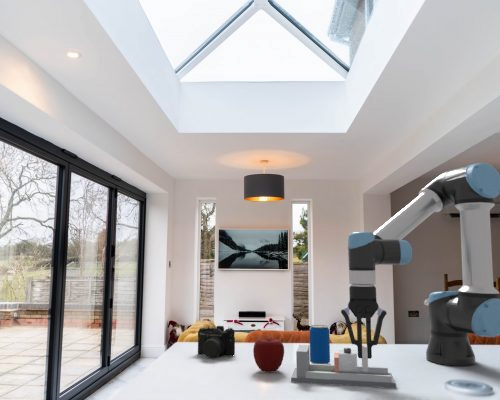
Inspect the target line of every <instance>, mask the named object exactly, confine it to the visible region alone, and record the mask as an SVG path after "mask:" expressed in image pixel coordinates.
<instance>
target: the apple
mask: <svg viewBox="0 0 500 400" xmlns="http://www.w3.org/2000/svg"><path fill="white" fill-rule="evenodd" d="M252 351H253V358H254V362H255V364H256V366H257V367H258V369H259V370H260V371H261V372H263V373H275V372H276V371H278V369H280V367H281V365H282V364H283V361H284V357H285V346H284V344H283V342H282V341H281V340H280V339H277V338H273V337H259V338H258V339H257V340H255V342H254V344H253V349H252Z"/></svg>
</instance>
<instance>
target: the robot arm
mask: <svg viewBox="0 0 500 400" xmlns="http://www.w3.org/2000/svg"><path fill="white" fill-rule="evenodd" d="M499 195H500V173H499V171H498V170H497V169H496V168H495V167H494V166H493V165H491V164H489V163H486V162H477V163H471V164H469V165H466V166H462V167H458V168H454V169H450V170H447V171H444V172H443V173H441V174H439V175H438V176H437V177H435V178H434V179H432V180H431V181H430V182H429V183H428V184H427V185H425V186H424V187H423V188H421V189H420V190H419V192H418V196H417V197H415V198H414V199H412V201H410V202H409V203H408V204H407V205H405V207H403V208H401V210H399V211H398V212H397V213H396V214H394V215H393V216H392V217H391V218H390V219H388V220H387V221H386V222H384V224H383V225H381V226H380V227H379V228H378V229H376V230H375V231H374V232H372V231H353V232H350V233H349V234H348V239H347V251H348V284H350V286H349V289H348V290H349V301H348V304H347V306H346V307H344V308H341V310H340V312H341V314H342V316H343V318H344V320H345V321H344V322H345V324H346V328H347V331H348V335H349V339H350V342H351V343H350V344H352V345H355V346H356V347H357V358H358V359H361V366H362V370H363V371H367V372H368V367H369V361H368V359H369V360H370V359H372V357H373V355H372V351H373V350H372V347H373V346H378V345H379V340H380V335H381V331H382V327H383V321H384V319H385V316H387V311H386V310H385V309H382V307H379V306H380V305H379V304H378V302H377V301H378V300H377V287H376V286H375V285H376V284H377V279H376V277H377V275H376V266H378V265H384V266H385V265H388V266H389V265H391V266H392V265H393V266H394V265H395V266H396V265H397V266H400V265H402V266H403V265H407V264H409V263H410V261H411V260H412V258H413V248H412V246H411V244H410V242H409V241H408V240H405V239H404V238H405V237H407V236H408V235H409V234H410V233H411V232H412V231H413V230H415V228H417V227H418V226H419V225H421V224H422V223H423V222H424V221H425V220H426V219H427V218H429V217H430V216H431V215H432V214H434V213H439V212H441V210H443V209H444V208H446V207H448V206H452V205H454V207H455V208H456V209H457V210H458V211H459V218H460V219H459V222H460V225H459V226H460V245H461V270H462V271H461V272H462V275H461V276H462V285H461V287H460V288H459V289H458V290H447V291H446V290H445V291H435V292H434V291H433V292H430V294H428V295H429V296H428V312H429V313H428V314H429V329H430V336H429V341H428V344H427V346H426V347H427V348H426V351H425V357H426V360H427V361H428V362H431V363H434V364H439V365H445V366H453V367H454V366H458V367H459V366H462V367H464V366H465V367H466V366H473V365H475V364H476V355H475V353H474V350H473V348H472V347H473V346H472V344H471V343H470V340H469V334H471V335H475V336H478V337H483V338H484V337H486V338H496V337H498V336H500V291H498V290H497V289H496V288H495V287H494V275H493V274H494V271H493V252H492V232H491V214H490V213H491V212H490V211H491V210H492V209H493V208H494V207H495V206H496V205H495V203H496V202H495V199H496V197H497V198H498V196H499ZM350 312H351V313H352V314H353V316H354V317H355V318H356V339H355V334H354V331H353V327H352V324H351V323H352V322H351V320H350V316H349V315H350ZM376 312H377V313H376ZM375 314H377V321H376V324H375V329H374V333H373V339H372V325H371V323H372V321H371V320H372V318H373V317H374V315H375ZM362 319H365V334H366V335H365V336H366V337H365V339H366V345H363V335H362V334H363V333H362V330H363V329H362V328H363V327H362Z"/></svg>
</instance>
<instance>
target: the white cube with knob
mask: <svg viewBox="0 0 500 400" xmlns="http://www.w3.org/2000/svg"><path fill="white" fill-rule="evenodd" d="M338 353H339V373H354V374H357V366H358V352H357V350H354V349H353V350H352V349H351V348H350V347H344V348H343V349H338Z"/></svg>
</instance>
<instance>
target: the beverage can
mask: <svg viewBox="0 0 500 400" xmlns="http://www.w3.org/2000/svg"><path fill="white" fill-rule="evenodd" d="M330 347H331V346H330V329H329V326H328V325H326V324H312V325H310V329H309V356H310V363H311V364H328V365H329V363H330V362H331V351H330V350H331V349H330Z"/></svg>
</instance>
